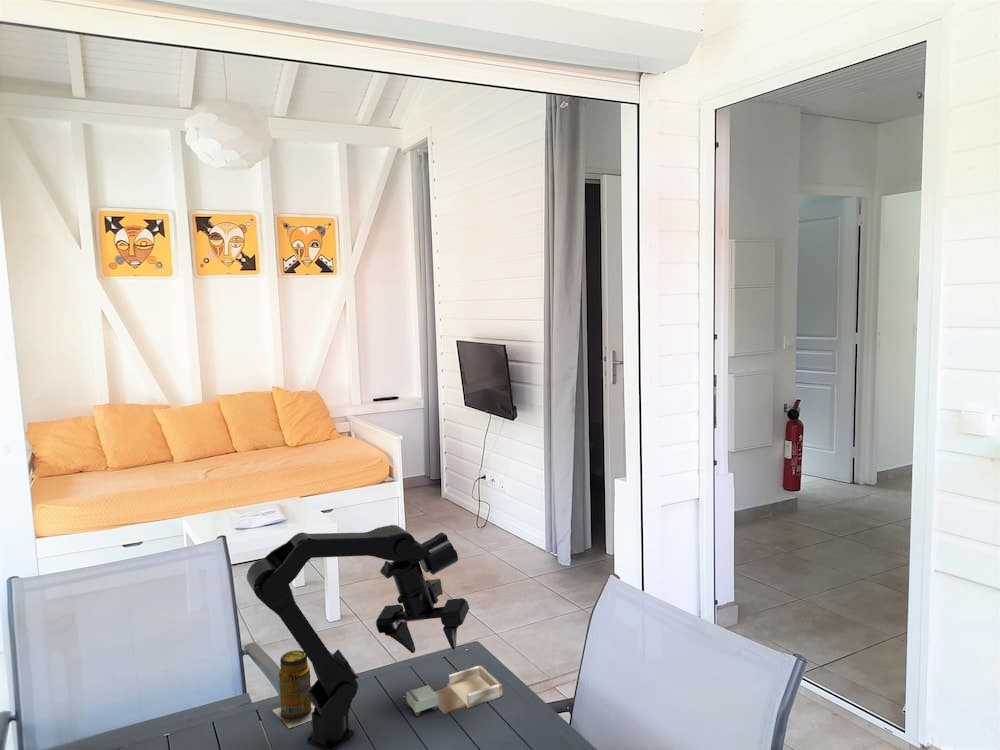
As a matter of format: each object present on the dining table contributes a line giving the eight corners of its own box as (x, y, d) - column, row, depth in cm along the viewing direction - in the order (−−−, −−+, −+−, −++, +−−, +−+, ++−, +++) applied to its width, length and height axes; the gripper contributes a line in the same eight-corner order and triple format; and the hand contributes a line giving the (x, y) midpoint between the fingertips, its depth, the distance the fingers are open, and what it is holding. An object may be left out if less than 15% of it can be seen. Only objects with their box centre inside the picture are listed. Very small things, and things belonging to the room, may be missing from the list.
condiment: (305, 698, 153) (302, 644, 152) (323, 715, 147) (320, 659, 145) (272, 711, 148) (268, 655, 147) (289, 730, 142) (285, 672, 141)
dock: (445, 717, 146) (445, 703, 145) (426, 695, 154) (425, 682, 153) (502, 698, 152) (502, 685, 152) (480, 677, 160) (480, 665, 160)
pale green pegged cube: (415, 717, 145) (415, 700, 144) (406, 706, 149) (406, 689, 149) (438, 710, 147) (438, 693, 147) (429, 699, 152) (428, 682, 151)
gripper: (465, 557, 149) (486, 621, 153) (385, 567, 155) (407, 628, 159) (449, 589, 139) (472, 657, 143) (364, 598, 145) (388, 663, 149)
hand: (434, 650), depth 149 cm, fingers open, 9 cm apart
